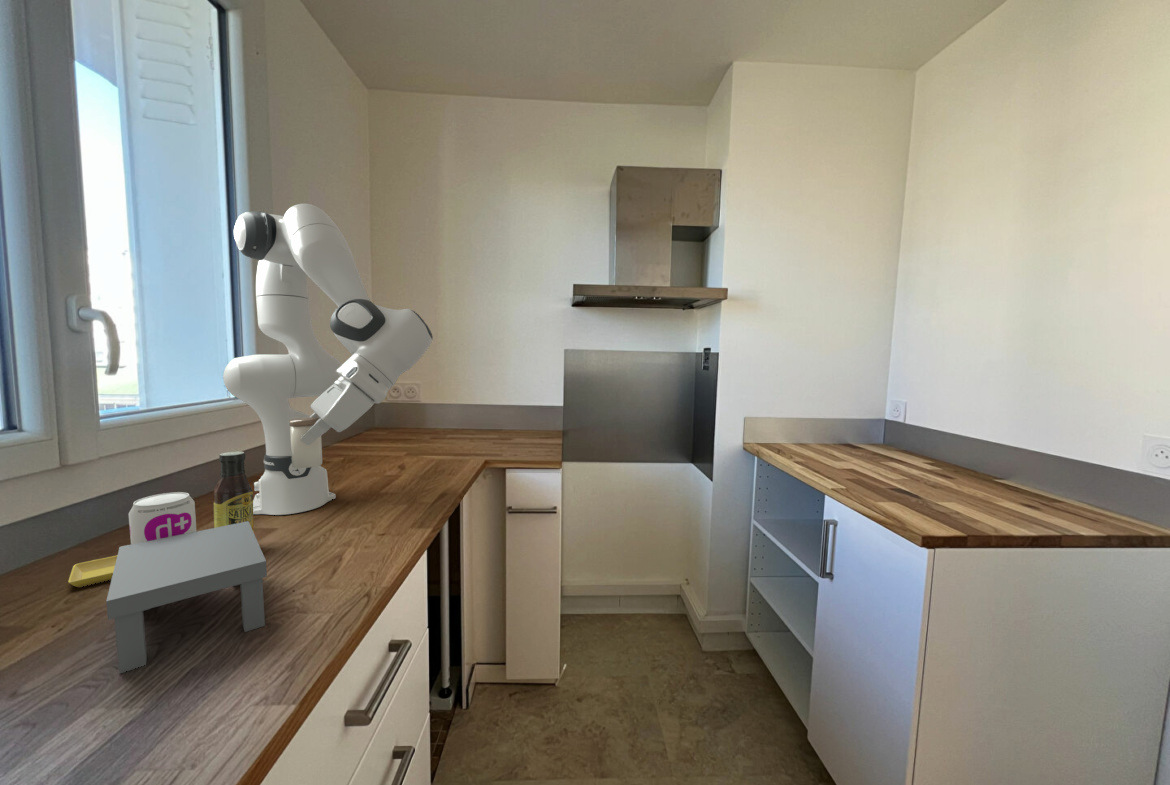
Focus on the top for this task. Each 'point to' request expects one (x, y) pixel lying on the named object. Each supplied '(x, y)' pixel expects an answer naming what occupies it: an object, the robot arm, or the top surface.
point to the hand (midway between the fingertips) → (302, 439)
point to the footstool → (182, 580)
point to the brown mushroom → (300, 451)
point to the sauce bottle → (233, 492)
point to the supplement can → (162, 517)
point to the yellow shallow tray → (92, 572)
